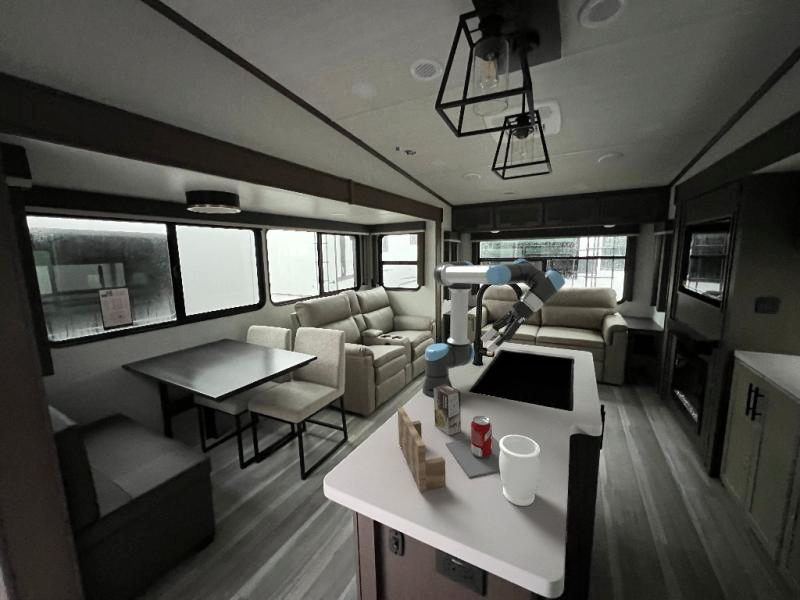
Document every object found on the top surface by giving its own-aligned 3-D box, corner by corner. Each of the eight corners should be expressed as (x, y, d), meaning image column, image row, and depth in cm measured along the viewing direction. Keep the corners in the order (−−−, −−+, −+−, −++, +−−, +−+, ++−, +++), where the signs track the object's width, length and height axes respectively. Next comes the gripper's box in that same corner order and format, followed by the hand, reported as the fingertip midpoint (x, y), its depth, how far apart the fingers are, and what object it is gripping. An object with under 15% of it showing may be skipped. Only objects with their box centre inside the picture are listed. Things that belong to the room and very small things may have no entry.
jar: (535, 515, 79) (536, 461, 77) (494, 500, 84) (494, 449, 83) (541, 489, 88) (542, 440, 86) (504, 477, 93) (504, 430, 92)
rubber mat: (445, 444, 111) (445, 443, 111) (490, 436, 115) (490, 434, 115) (469, 478, 93) (469, 476, 93) (521, 466, 98) (521, 464, 98)
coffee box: (461, 431, 119) (461, 391, 117) (448, 436, 116) (448, 395, 114) (446, 421, 127) (445, 383, 125) (434, 425, 124) (433, 387, 122)
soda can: (480, 462, 100) (480, 426, 98) (466, 451, 106) (466, 417, 104) (496, 455, 103) (496, 421, 101) (482, 445, 109) (482, 412, 107)
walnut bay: (399, 444, 112) (397, 408, 110) (420, 441, 114) (419, 404, 112) (419, 492, 89) (418, 446, 87) (445, 486, 90) (444, 441, 89)
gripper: (546, 319, 102) (500, 362, 106) (524, 307, 127) (486, 343, 130) (530, 303, 102) (484, 348, 106) (511, 295, 127) (474, 331, 130)
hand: (485, 345), depth 118 cm, fingers open, 13 cm apart
